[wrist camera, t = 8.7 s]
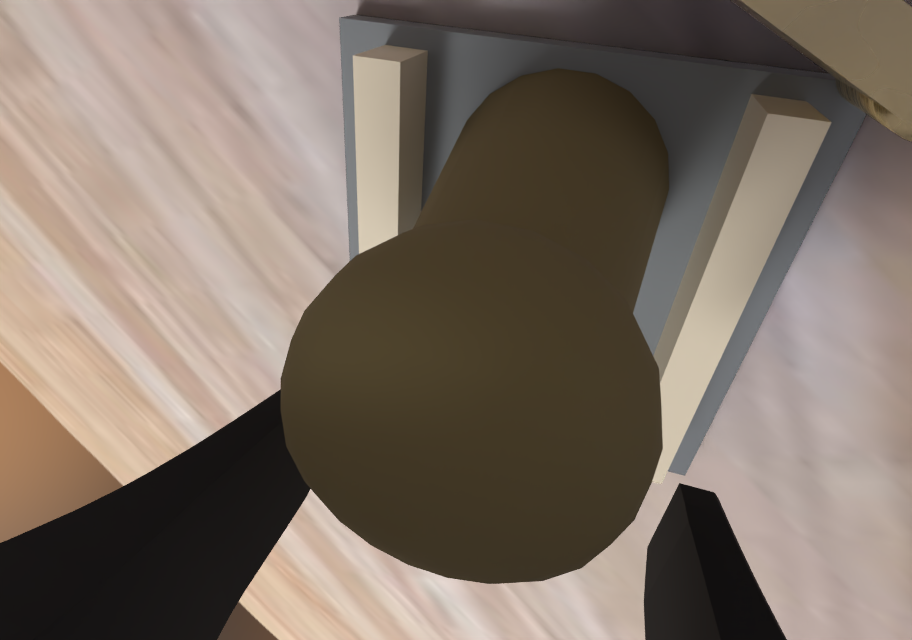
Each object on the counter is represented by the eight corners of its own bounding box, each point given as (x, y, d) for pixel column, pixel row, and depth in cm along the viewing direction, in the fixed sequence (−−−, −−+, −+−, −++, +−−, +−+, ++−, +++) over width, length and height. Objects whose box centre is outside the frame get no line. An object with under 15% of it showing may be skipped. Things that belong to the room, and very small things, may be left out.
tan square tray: (865, 77, 13) (918, 105, 10) (683, 455, 20) (688, 521, 18) (355, 14, 15) (301, 25, 13) (365, 373, 23) (332, 422, 20)
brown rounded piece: (443, 72, 14) (116, 254, 5) (687, 64, 12) (793, 310, 4) (458, 273, 17) (271, 590, 9) (653, 288, 16) (667, 698, 7)
